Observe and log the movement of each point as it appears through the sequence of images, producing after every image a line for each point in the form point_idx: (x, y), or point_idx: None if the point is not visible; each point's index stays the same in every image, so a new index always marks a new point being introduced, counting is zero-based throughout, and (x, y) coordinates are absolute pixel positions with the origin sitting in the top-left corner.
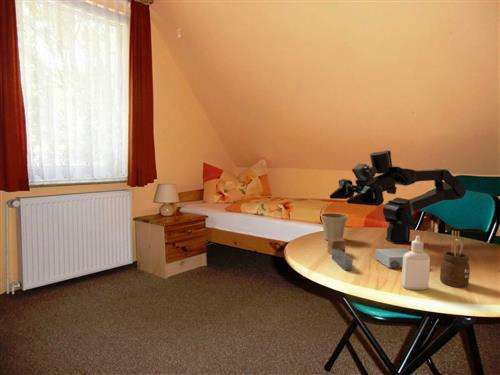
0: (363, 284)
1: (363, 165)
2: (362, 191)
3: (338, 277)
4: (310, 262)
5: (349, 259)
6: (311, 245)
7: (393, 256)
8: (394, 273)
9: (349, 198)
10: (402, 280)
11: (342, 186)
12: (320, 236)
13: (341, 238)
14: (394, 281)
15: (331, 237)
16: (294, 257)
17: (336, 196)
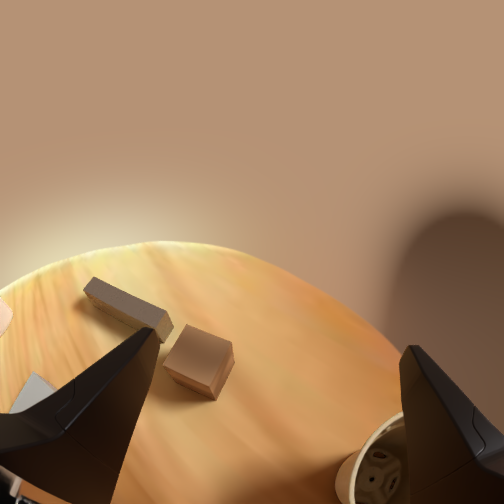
0: (55, 273)
1: None
2: (38, 432)
3: (95, 261)
4: (185, 268)
5: (87, 284)
6: (323, 361)
7: (29, 386)
8: (33, 362)
9: (137, 342)
10: (7, 305)
11: (491, 471)
12: None
13: (197, 379)
14: (24, 323)
15: (351, 456)
16: (235, 259)
17: (413, 416)
